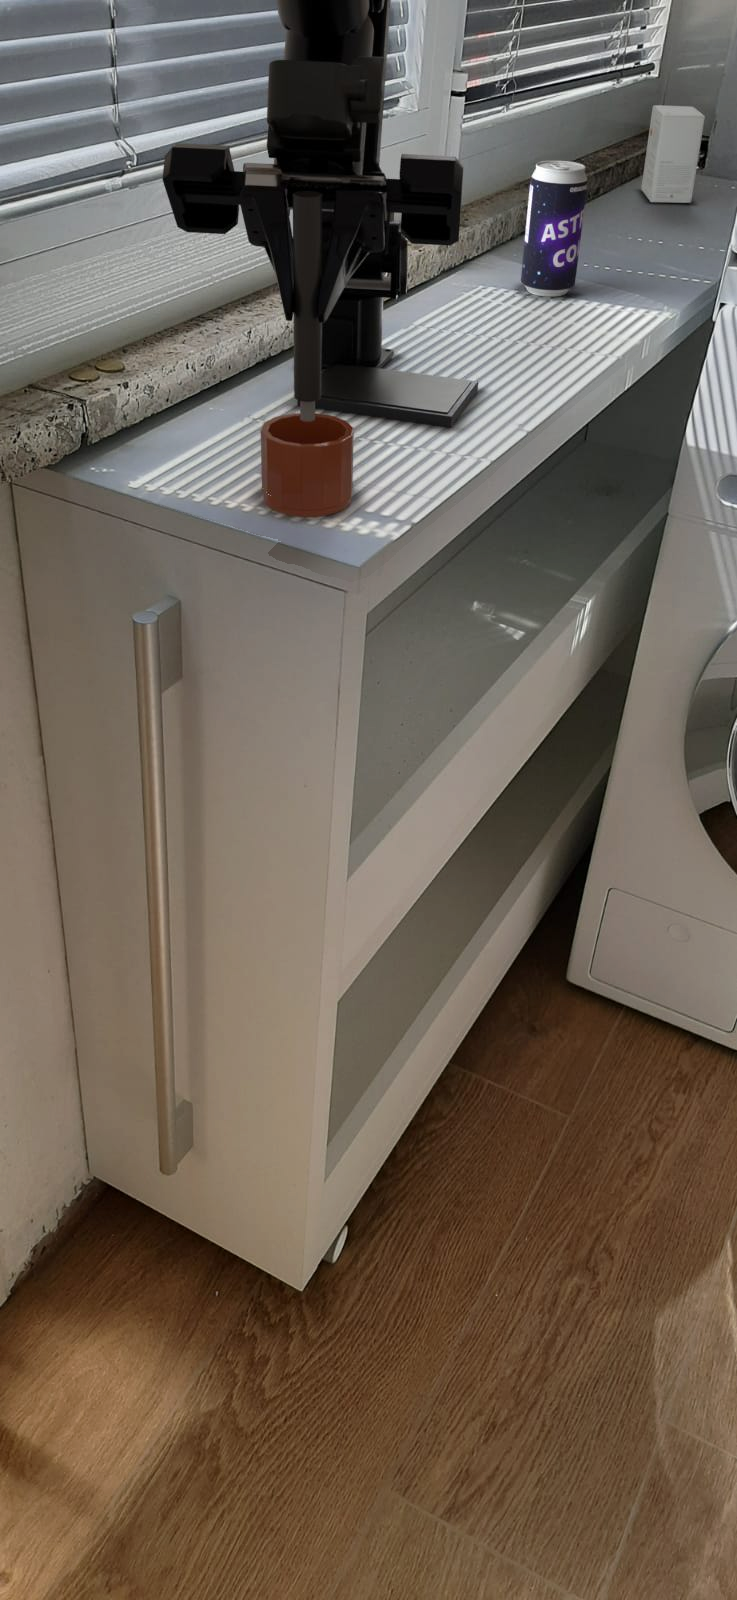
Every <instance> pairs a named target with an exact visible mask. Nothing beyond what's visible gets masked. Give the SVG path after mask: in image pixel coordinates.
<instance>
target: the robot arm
mask: <svg viewBox="0 0 737 1600" xmlns="http://www.w3.org/2000/svg"><path fill="white" fill-rule="evenodd" d="M275 2H276V8H277V14H278V17H279V19H280V20H279V21H280V23H281V25H282V27H283V28H284V30H286V32H285V41H284V51H283V59H275V60H273V61H271V62H270V63H269V64H268V77H267V78H268V81H267V104H266V105H267V109H266V123H267V125H268V126H267V127H268V128H267V139H266V150H267V154H268V158H269V159H273V163H258V162H257V163H256V162H245V163H243V166H242V171H240V170H239V171H237V170H235V168H234V167H235V166H234V162H233V158H232V153H231V149H230V146H229V145H221V144H200V143H199V144H198V143H180V142H177V143H175V144H174V145H173V146H172V147H171V148H170V149H169V151H168V152H167V153H166V154H165V155H164V160H163V169H162V179H161V180H162V183H163V186H164V189H165V193H166V195H167V198H168V201H169V205H170V208H171V211H172V215H173V218H174V220H175V224H176V227H177V228H179V229H180V230H183V231H184V232H186V233H192V234H193V233H194V234H211V235H212V234H213V235H226V234H227V233H228V232H230V231H231V230H232V229H234V228H235V227H236V226H237V225H238V224H239V215H240V210H241V215H242V219H243V223H244V227H245V231H246V236H247V240H248V243H249V244H250V245H252V246H254V247H260V248H264V250H265V253H266V255H267V257H268V261H269V262H270V265H271V267H272V269H273V272H274V275H275V278H276V282H277V286H278V291H279V295H280V300H281V304H282V309H283V313H284V318H285V320H286V322H293V319H294V297H293V229H292V225H291V220H290V218H291V217H290V216H291V211H293V193H295V192H298V191H315V192H319V193H321V194H322V280H321V285H320V291H319V304H318V319H319V322H320V323H322V329H321V371H322V370H323V371H324V370H325V369H326V368H327V367H328V366H330V365H335V364H340V365H347V366H350V365H358V366H366V367H373V368H381V369H383V367H384V366H385V365H386V364H387V363H388V361H390V360H391V358H393V356H394V349H392V348H385V347H382V346H383V345H382V344H383V321H384V320H383V318H384V298H385V299H386V298H388V299H391V300H397V299H398V297H399V296H402V295H407V293H408V270H409V268H408V266H409V262H408V261H409V258H408V257H409V256H408V255H409V254H408V253H409V250H408V249H409V243H410V244H412V245H414V244H415V245H428V246H429V245H430V246H448V247H449V246H453V245H454V244H456V243H459V241H460V228H461V216H462V215H461V214H462V198H463V197H462V196H463V180H464V166H463V165H462V163H461V162H460V161H459V159H458V158H457V156H456V155H455V156H453V155H433V154H413V153H412V154H411V153H401V156H400V160H399V161H400V163H399V178H387V176H386V174H385V172H383V171H382V169H381V166H380V161H381V160H380V159H381V145H382V131H383V121H384V119H383V118H384V106H385V105H384V103H385V89H386V88H385V87H386V76H387V75H386V74H387V60H388V47H389V34H390V33H389V31H390V16H391V2H392V0H276V1H275ZM395 214H401V217H400V220H395ZM385 274H390V276H389V275H388V276H386V275H385Z"/></svg>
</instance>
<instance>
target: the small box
mask: <svg viewBox="0 0 737 1600" xmlns="http://www.w3.org/2000/svg"><path fill="white" fill-rule="evenodd" d="M705 119H706V115H704V114H703V113H701V112H700V111H699V110H698V109H697V108H695V106H690V105H689V106H687V105H686V106H685V105H658V104H657V105H656V104H655V105H653V106H652V110H651V116H650V122H649V123H650V124H649V131H648V138H647V145H646V152H645V159H644V166H643V172H642V173H643V174H642V181H641V188H640V189H641V191H642V193H643V194H644V195H645V197H646V198H647V199H648V200H649V202H650V203H671V204H672V203H674V204H675V203H676V204H691V203H692V202H693V201H692V199H693V194H694V190H695V189H694V187H695V182H696V177H697V170H698V164H699V157H700V150H701V144H702V137H703V132H704V125H705Z"/></svg>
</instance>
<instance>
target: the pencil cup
mask: <svg viewBox="0 0 737 1600" xmlns="http://www.w3.org/2000/svg"><path fill="white" fill-rule="evenodd" d="M354 435H355V429H354V427H353V426H352V425H351V424H350V423H349V422H348V421H347V420H345V419H342V418H339V417H336V416H334V415H330V414H323V413H316V412H315V420H314V421H311V422H305V421H302V420H301V419H300V412H293V413H288V414H282V415H278V416H274V417H272V418H271V419H267V420H266V421H265V422H263V424H262V427H261V429H260V462H261V463H260V464H261V465H260V466H261V469H260V470H261V493H262V501H263V503H264V504H265V505H266V507H268V508H269V509H271V510H273V511H275V512H277V513H280V514H283V515H286V516H287V515H288V516H292V517H300V518H301V517H302V518H315V517H316V518H317V517H325V516H331V515H334V514H337V513H340V512H342V511H344V510H345V509H346V508H348V507H349V506H350V504H352V503H351V502H352V495H353V494H352V493H353V487H354V485H353V482H354V479H353V478H354V440H355V439H354ZM263 488H264V489H263ZM266 492H267V493H266ZM268 494H269V495H268ZM270 495H271V496H270Z"/></svg>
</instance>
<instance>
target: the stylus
mask: <svg viewBox="0 0 737 1600" xmlns="http://www.w3.org/2000/svg"><path fill="white" fill-rule="evenodd" d="M292 236H293V297H294V312H293V397H294V399H295V400H299V401H300V406H299V413H300V419H301V420H302V421H305V422H311V421H314V420H315V413H316V408H315V401H317V400H319V399H320V398H321V373H322V369H321V329H322V323H320V322H319V319H318V304H319V291H320V285H321V280H322V194H321V193H319V192H315V191H298V192H295V193H293V210H292Z"/></svg>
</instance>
